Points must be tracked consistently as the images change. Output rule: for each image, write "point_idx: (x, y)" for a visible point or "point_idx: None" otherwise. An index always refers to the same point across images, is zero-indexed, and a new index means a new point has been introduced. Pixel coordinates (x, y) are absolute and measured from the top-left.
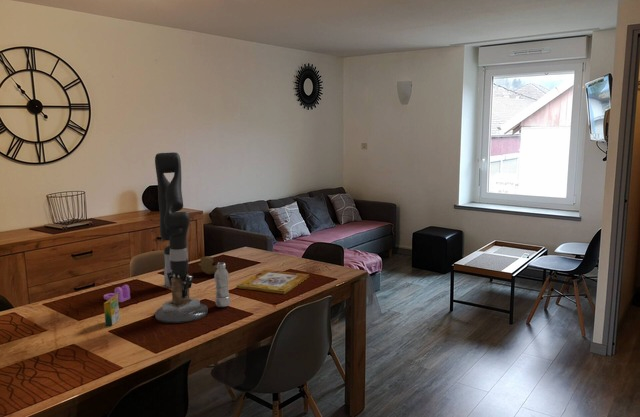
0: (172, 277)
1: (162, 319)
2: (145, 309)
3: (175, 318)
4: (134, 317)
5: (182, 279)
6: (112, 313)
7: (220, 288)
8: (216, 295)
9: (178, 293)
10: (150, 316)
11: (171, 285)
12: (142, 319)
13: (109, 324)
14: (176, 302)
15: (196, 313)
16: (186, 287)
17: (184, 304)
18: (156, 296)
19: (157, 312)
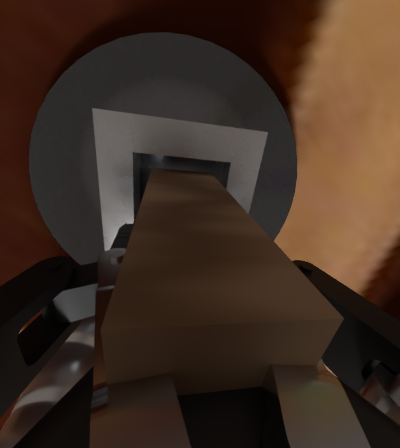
0: (358, 363)
1: (180, 35)
2: (361, 163)
3: (108, 77)
4: (370, 42)
5: (80, 387)
6: None
7: (23, 406)
8: (78, 352)
9: (144, 195)
10: (296, 95)
11: (296, 264)
12: (314, 32)
13: None
14: (176, 174)
15: (73, 199)
16: (32, 274)
17: (116, 186)
18: (375, 278)
19: (274, 118)
